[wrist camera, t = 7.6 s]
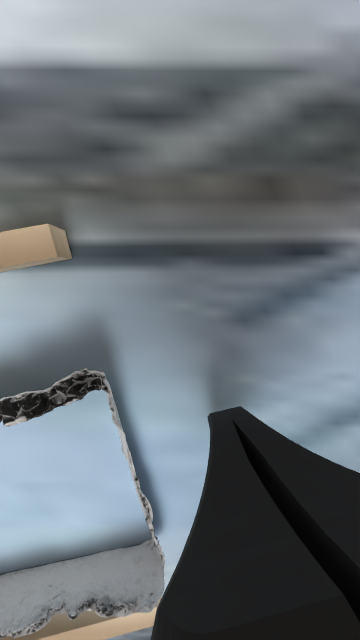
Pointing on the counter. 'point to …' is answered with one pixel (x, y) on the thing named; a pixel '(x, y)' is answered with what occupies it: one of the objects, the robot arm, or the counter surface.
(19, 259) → the oak frame
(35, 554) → the counter surface
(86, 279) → the counter surface
